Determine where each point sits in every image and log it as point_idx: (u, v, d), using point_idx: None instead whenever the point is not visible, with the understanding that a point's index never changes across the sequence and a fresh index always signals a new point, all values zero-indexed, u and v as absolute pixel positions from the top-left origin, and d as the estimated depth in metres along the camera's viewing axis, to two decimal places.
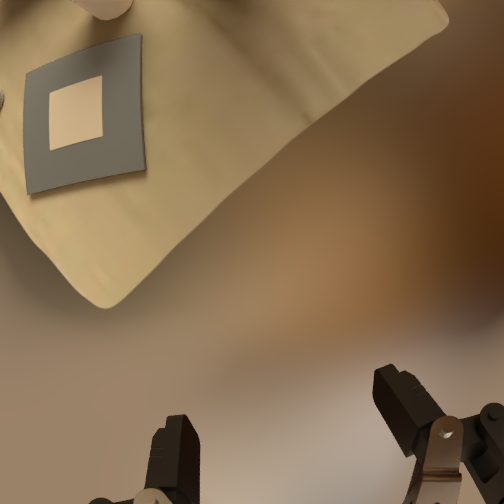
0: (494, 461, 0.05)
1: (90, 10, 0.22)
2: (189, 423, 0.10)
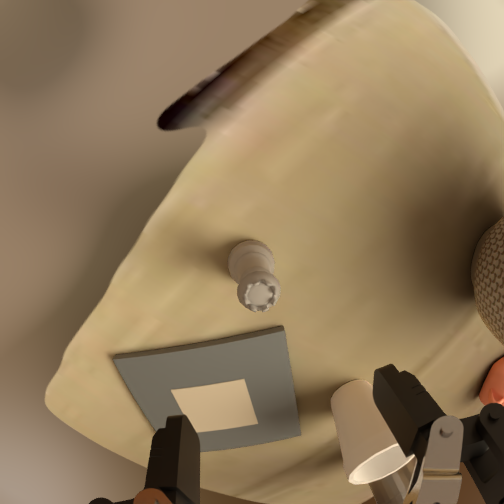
0: (494, 461, 0.05)
1: (339, 419, 0.30)
2: (189, 423, 0.10)
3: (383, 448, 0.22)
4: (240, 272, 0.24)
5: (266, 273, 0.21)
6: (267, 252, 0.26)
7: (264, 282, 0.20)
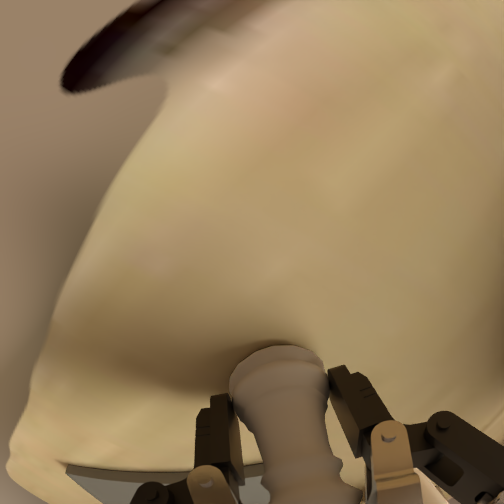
0: (455, 463, 0.06)
1: None
2: (230, 402, 0.11)
3: None
4: (260, 440, 0.08)
5: (339, 494, 0.05)
6: (318, 377, 0.10)
7: None
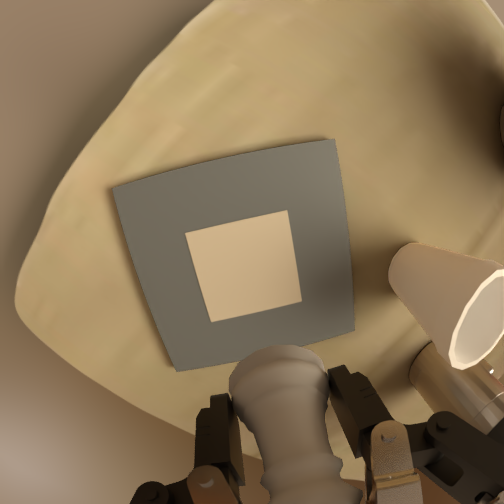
0: (455, 463, 0.06)
1: (410, 279, 0.24)
2: (230, 402, 0.11)
3: (487, 275, 0.16)
4: (260, 440, 0.08)
5: (339, 493, 0.05)
6: (318, 377, 0.10)
7: None
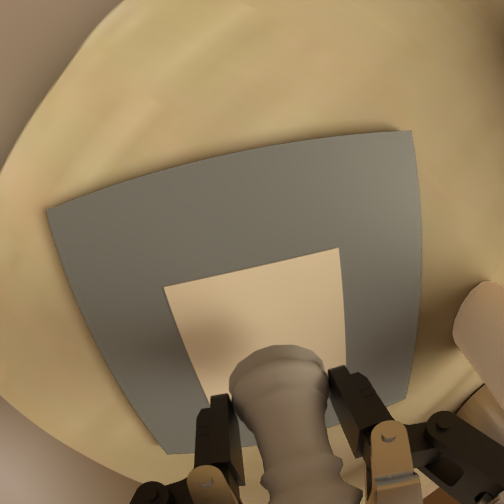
0: (455, 463, 0.06)
1: (492, 340, 0.13)
2: (230, 402, 0.11)
3: None
4: (260, 440, 0.08)
5: (339, 493, 0.05)
6: (318, 377, 0.10)
7: None
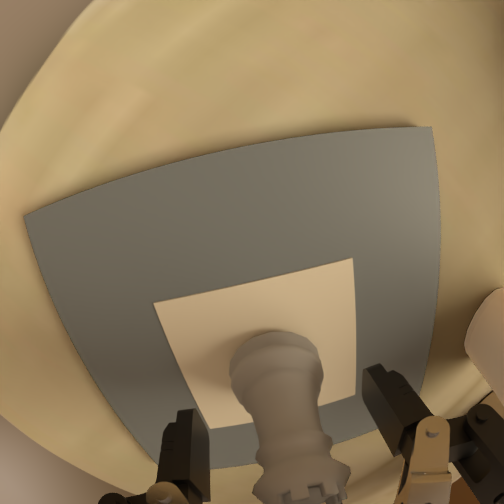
0: (485, 460, 0.05)
1: None
2: (199, 417, 0.10)
3: None
4: (256, 418, 0.10)
5: (326, 466, 0.06)
6: (312, 362, 0.11)
7: (321, 490, 0.06)
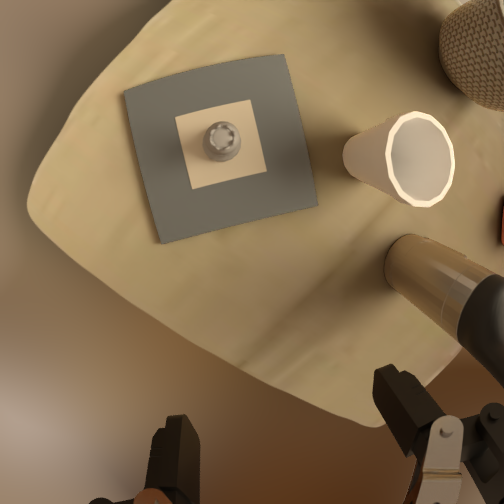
0: (494, 461, 0.05)
1: (355, 147, 0.30)
2: (189, 423, 0.10)
3: (406, 113, 0.21)
4: None
5: (227, 122, 0.24)
6: None
7: (225, 126, 0.24)
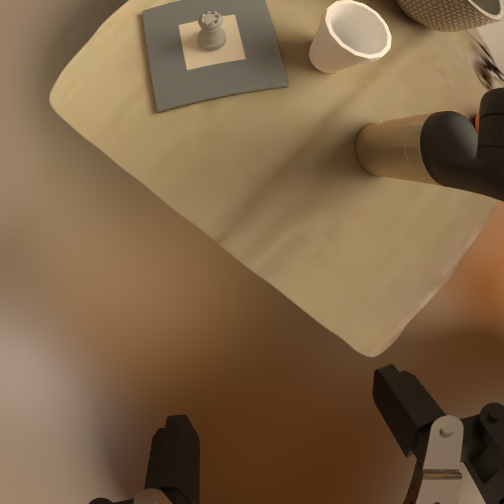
0: (494, 461, 0.05)
1: (314, 38, 0.33)
2: (189, 423, 0.10)
3: (342, 1, 0.24)
4: None
5: None
6: (221, 28, 0.32)
7: (212, 12, 0.27)
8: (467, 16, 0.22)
